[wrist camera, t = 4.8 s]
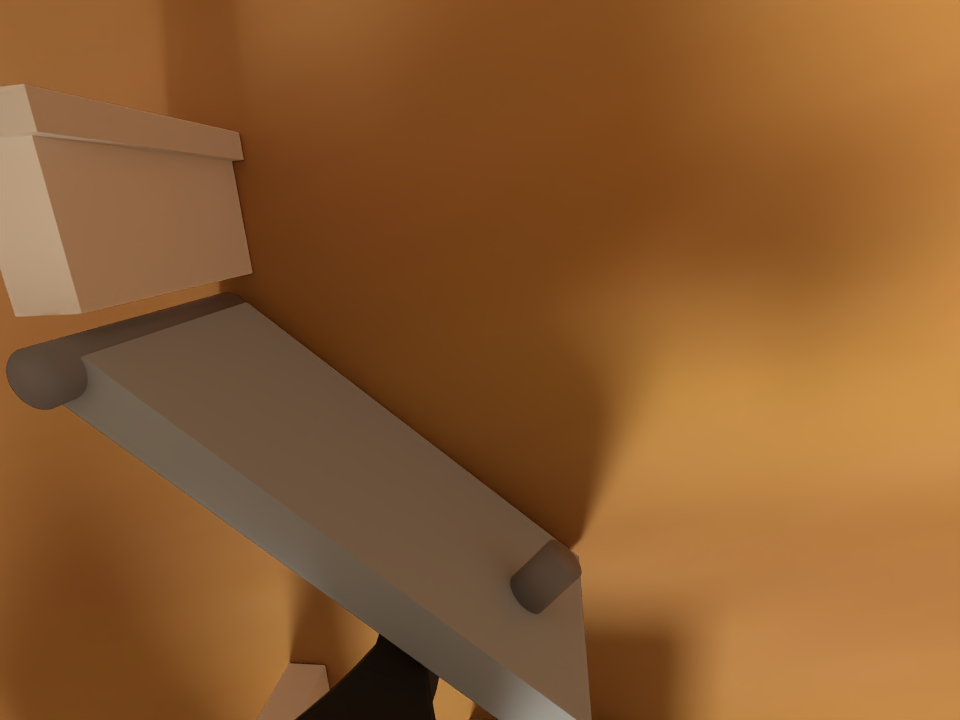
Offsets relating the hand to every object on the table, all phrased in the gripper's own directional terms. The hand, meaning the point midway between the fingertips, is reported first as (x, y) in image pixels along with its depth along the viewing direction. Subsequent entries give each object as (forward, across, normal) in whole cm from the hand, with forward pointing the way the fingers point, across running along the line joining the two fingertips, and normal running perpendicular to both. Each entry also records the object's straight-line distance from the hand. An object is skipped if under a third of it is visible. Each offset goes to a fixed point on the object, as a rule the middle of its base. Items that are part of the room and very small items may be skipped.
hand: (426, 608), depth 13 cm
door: (+1, +1, -4) cm, 5 cm away
